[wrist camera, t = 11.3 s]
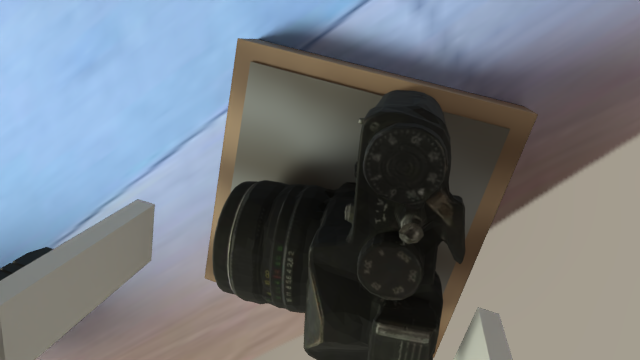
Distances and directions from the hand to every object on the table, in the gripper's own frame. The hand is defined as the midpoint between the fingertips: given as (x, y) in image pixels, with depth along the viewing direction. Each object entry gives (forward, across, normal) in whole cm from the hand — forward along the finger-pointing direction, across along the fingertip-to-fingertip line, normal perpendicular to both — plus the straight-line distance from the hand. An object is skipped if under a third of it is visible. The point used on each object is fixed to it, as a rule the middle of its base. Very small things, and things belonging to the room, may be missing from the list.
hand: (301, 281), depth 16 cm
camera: (+8, 0, 0) cm, 9 cm away
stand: (+11, 0, -1) cm, 11 cm away
